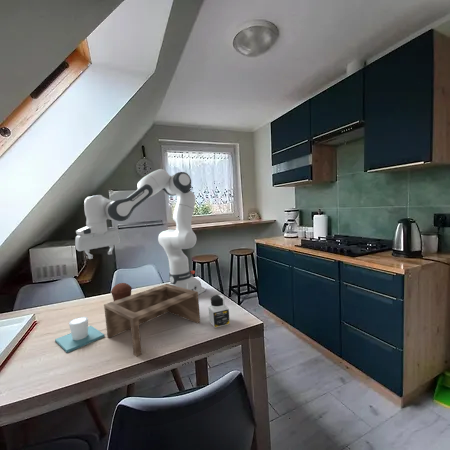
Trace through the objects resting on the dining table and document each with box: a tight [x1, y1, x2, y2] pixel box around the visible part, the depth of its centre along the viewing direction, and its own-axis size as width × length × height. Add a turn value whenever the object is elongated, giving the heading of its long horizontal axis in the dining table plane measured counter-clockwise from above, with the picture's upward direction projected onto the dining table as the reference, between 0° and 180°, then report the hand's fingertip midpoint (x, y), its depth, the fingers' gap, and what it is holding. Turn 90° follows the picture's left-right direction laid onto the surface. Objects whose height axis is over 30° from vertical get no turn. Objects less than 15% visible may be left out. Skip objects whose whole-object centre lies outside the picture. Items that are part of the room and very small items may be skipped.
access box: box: [103, 283, 201, 357], centre depth 108 cm, size 31×23×14 cm
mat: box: [54, 325, 105, 354], centre depth 104 cm, size 14×14×1 cm
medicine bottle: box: [207, 294, 231, 329], centre depth 111 cm, size 7×7×12 cm
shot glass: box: [68, 316, 89, 340], centre depth 104 cm, size 7×7×7 cm
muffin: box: [110, 282, 133, 301], centre depth 146 cm, size 12×11×10 cm
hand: (100, 256), depth 124 cm, fingers open, 8 cm apart
